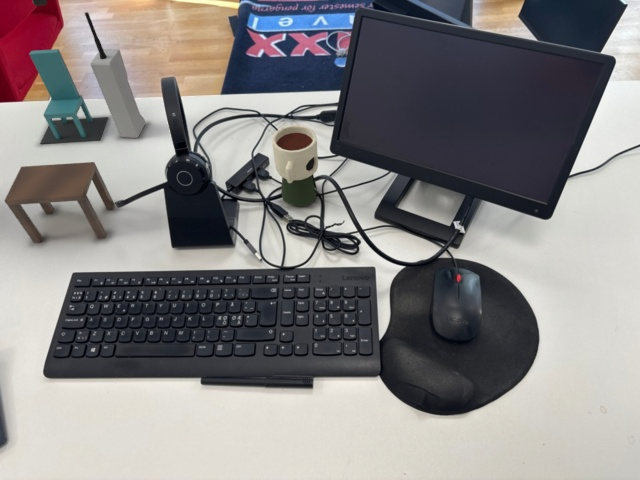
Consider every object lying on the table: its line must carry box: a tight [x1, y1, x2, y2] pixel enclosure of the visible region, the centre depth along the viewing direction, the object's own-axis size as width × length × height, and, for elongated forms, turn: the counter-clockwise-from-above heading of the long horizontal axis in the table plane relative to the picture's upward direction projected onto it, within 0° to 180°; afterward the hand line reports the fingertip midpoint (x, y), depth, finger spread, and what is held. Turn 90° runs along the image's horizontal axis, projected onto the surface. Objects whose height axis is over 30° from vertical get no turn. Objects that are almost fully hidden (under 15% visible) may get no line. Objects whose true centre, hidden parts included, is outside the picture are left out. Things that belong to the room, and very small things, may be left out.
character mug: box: [271, 124, 319, 207], centre depth 87 cm, size 11×7×13 cm, turn 170°
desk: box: [4, 161, 116, 244], centre depth 86 cm, size 12×8×10 cm, turn 93°
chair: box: [28, 48, 93, 139], centre depth 101 cm, size 6×6×16 cm
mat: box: [40, 116, 109, 145], centre depth 107 cm, size 12×8×1 cm, turn 93°
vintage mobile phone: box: [84, 11, 146, 139], centre depth 97 cm, size 4×5×25 cm
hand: (36, 1), depth 96 cm, fingers open, 8 cm apart
